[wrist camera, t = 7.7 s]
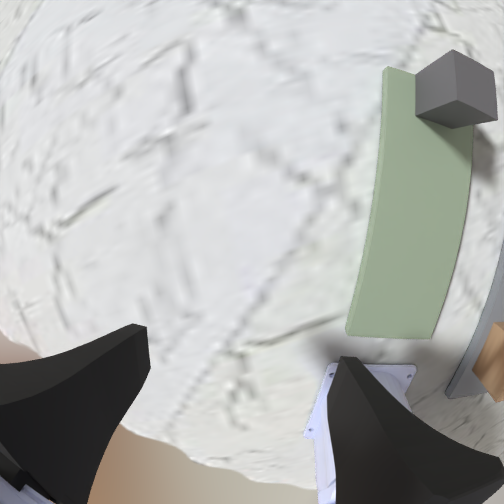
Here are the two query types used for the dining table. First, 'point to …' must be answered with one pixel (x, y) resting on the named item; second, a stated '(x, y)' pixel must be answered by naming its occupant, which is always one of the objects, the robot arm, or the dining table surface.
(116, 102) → the dining table surface
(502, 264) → the grey strip with post
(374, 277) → the olive strip
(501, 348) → the walnut block
